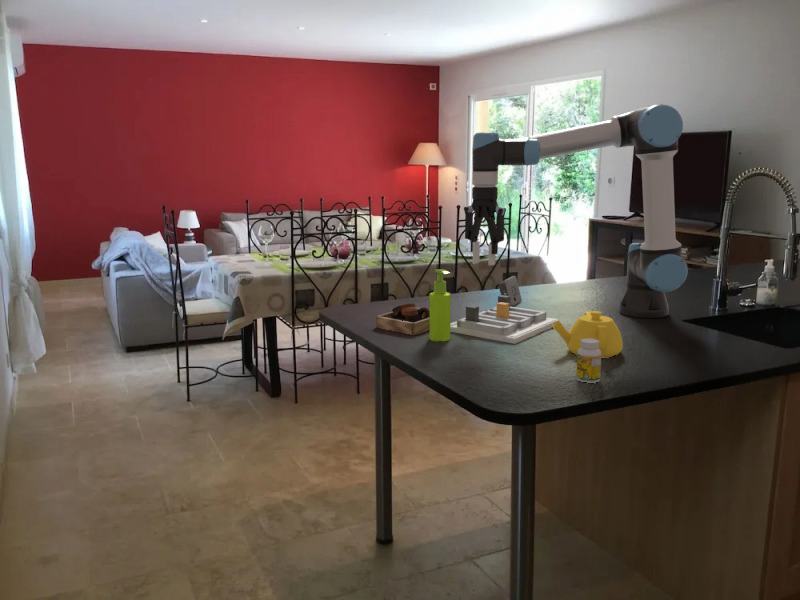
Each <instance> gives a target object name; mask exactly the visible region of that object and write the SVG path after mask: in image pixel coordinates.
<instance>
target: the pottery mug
mask: <svg viewBox="0 0 800 600" xmlns="http://www.w3.org/2000/svg"><path fill="white" fill-rule="evenodd" d="M417 308H419V309H417ZM429 310H430V308H428V307H416V304H415V303H405V304H401V305H397V306H395V307H393V308H392V309H391V312H393V314H392V316H391V319H392V318H395V319H403V321H407V322H413V323H414V322H417V321H420V320H423V319H427V318H429V317H430V312H429ZM417 312H418V314H417ZM423 312H426V315H425V317H424V318H422V314H423Z"/></svg>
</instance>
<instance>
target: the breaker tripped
mask: <svg viewBox="0 0 800 600" xmlns="http://www.w3.org/2000/svg"><path fill="white" fill-rule="evenodd" d="M496 307H497V310H496V317H501V318H507V319H510V316H509V303H504V302H499V303H498V302H497V303H496Z"/></svg>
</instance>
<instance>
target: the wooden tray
mask: <svg viewBox="0 0 800 600" xmlns="http://www.w3.org/2000/svg"><path fill="white" fill-rule="evenodd" d="M416 308H417V309H419V308H420V307H416ZM429 312H430V309H429ZM392 314H393V312H392V311H390V312H385V313H382V314H378V315H376V317H375V323H376V324H375V326H376V328H377V327H378V328H377V329H379V328H380V330H384V329H385V330H386V331H389V330H392V331H391V332H394V331H397V332H396V333H399V332H401V333H400V334H404V333H405V334H404V335H409V334H410V335H411V336H416V335H420V334H422V333H425V332H428V330H429V331H430V317H429V318H427V319H423V320H420V321H417V322H414V323H413V322H407V321H406V320H403V319H395V318H392V319H391V316H392ZM417 314H418V312H417ZM425 315H426V312H423V314H422V318H424V317H425ZM402 320H403V321H402Z"/></svg>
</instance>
